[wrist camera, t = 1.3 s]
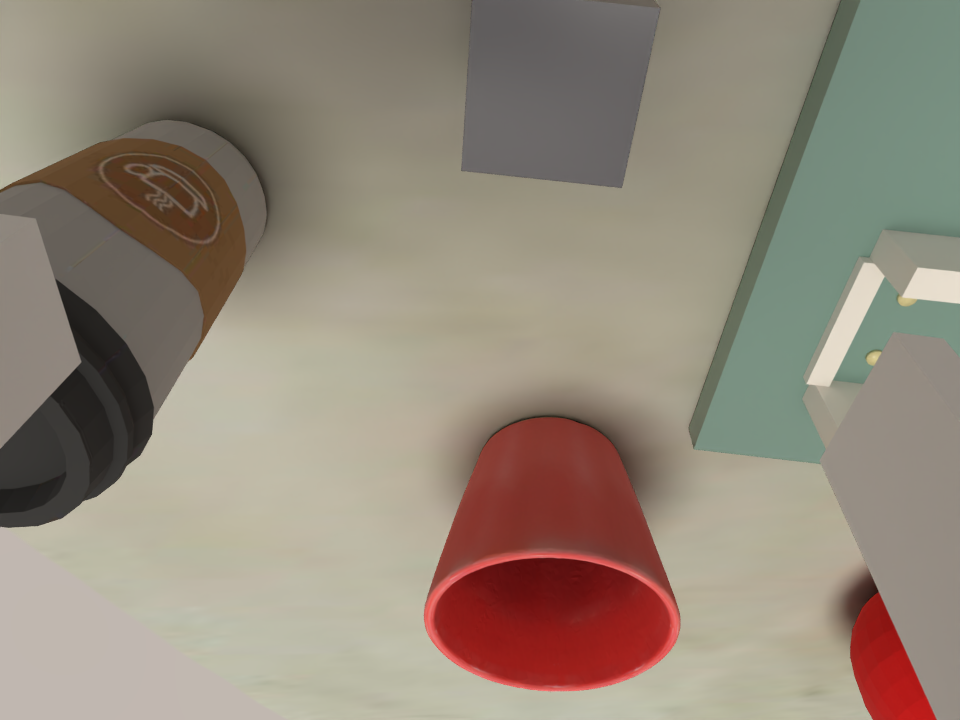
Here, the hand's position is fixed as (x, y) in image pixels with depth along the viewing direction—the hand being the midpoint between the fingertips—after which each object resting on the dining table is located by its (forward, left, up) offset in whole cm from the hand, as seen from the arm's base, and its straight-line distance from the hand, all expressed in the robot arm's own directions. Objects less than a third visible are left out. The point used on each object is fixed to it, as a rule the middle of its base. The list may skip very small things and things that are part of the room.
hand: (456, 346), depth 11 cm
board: (+6, +18, -17) cm, 26 cm away
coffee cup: (+6, -13, -18) cm, 22 cm away
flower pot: (+20, +4, -18) cm, 27 cm away
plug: (-2, +1, -17) cm, 18 cm away
